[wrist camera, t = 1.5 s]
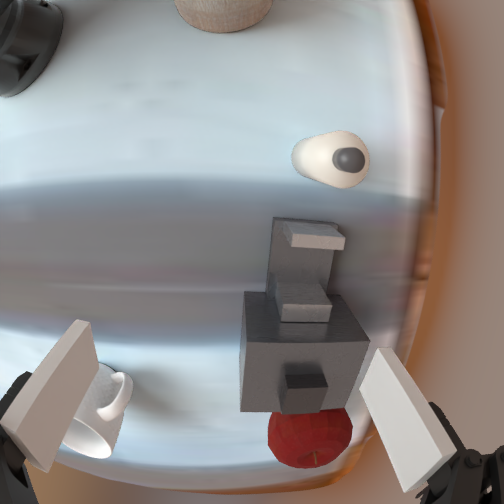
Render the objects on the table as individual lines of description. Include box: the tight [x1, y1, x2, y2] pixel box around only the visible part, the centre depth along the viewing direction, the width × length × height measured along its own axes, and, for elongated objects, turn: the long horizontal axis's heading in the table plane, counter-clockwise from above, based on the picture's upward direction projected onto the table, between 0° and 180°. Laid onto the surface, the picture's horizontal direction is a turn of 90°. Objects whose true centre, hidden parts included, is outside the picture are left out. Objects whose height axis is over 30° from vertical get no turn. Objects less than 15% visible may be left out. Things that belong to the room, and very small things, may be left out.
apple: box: [268, 408, 353, 469], centre depth 34 cm, size 12×12×13 cm
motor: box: [239, 217, 370, 415], centre depth 29 cm, size 22×12×12 cm, turn 175°
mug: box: [62, 363, 133, 458], centre depth 32 cm, size 15×11×13 cm
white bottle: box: [291, 131, 370, 188], centre depth 24 cm, size 4×4×12 cm
